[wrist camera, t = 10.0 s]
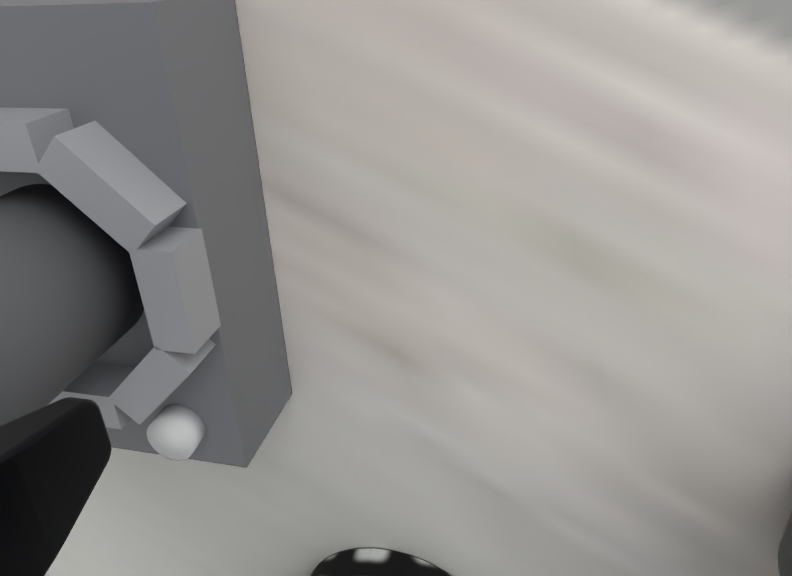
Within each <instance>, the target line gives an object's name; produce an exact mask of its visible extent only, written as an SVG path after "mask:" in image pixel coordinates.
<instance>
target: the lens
mask: <svg viewBox="0 0 792 576" xmlns="http://www.w3.org/2000/svg"><path fill="white" fill-rule="evenodd" d="M143 311H144V306H143V303H142V299H141V295H140V291H139V287H138V284H137V280H136V276H135V272H134V268H133V264H132V261H131V257H130V253H129V252H128V251H127V250H126V249H125V248H124V247H122V246H121V245H120V244H119V243H118V242H117V241H115V240H114V239H113V238H112V237H111V236H110V235H109V234H107V233H106V232H105V231H104V230H103V229H102V228H101V227H99V226H98V225H97V224H96V223H95V222H94V221H92V220H91V219H90V218H89V217H88V216H87V215H86V214H84V213H83V212H82V211H81V210H80V209H79V208H78V207H76V206H75V205H74V204H73V203H72V202H71V201H70V200H68V199H67V198H66V197H65V196H64V195H63V194H61V193H60V192H59V191H58V190H57V189H56V188H55V187H53V186H52V185H48V184H31V185H27V186H22V187H20V188H17V189H15V190H13V191H11V192H8V193H6V194H4V195H2V196H0V426H1V425H4V424H6V423H8V422H10V421H13V420H15V419H17V418H20V417H22V416H24V415H26V414H29V413H31V412H33V411H35V410H38V409H40V408H42V407H44V406H47V405H48V404H49V403H50V402H51V401H52V400H53V399H54V398H56V397H57V396H58V395H59V394H60V393H61V392H62V391H63V390H64V389H65V388H66V387H68V386H69V385H70V384H71V383H72V382H73V381H74V380H75V379H76V378H77V377H78V376H80V375H81V374H82V373H83V372H84V371H85V370H86V369H87V368H88V367H89V366H90V365H92V364H93V363H94V362H95V361H96V360H97V359H98V358H99V357H100V356H101V355H103V354H104V353H105V352H106V351H107V350H108V349H109V348H110V347H111V346H112V345H113V344H115V343H116V342H117V341H118V340H119V339H120V338H121V337H122V336H123V335H124V334H125V333H127V332H128V331H129V330H130V329H131V328H132V327H133V326H134V325H135V324H136V323H137V322H138V320H139V319H140V317H141V316H142V314H143Z"/></svg>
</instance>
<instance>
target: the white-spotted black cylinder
mask: <svg viewBox="0 0 792 576" xmlns="http://www.w3.org/2000/svg"><path fill="white" fill-rule="evenodd" d="M311 576H450V575H448V574H447V573H446V572H444V571H443V570H441V569H439V568H437V567H435V566H434V565H432V564H430V563H428V562H426V561H423V560H421V559H418V558H416V557H413V556H410V555H407V554H403V553H399V552H395V551H391V550H382V549H374V548H370V549H353V550H348V551H343V552H339V553H337V554H335V555H332V556H330V557H328V558H327V559H325V560H324V561H323V562H321V563H320V564H319V565H318V566H317V567H316V569H315V570H314V571H313V573H312V574H311Z"/></svg>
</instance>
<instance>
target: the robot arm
mask: <svg viewBox="0 0 792 576" xmlns="http://www.w3.org/2000/svg"><path fill="white" fill-rule="evenodd" d="M110 455H111V441H110V438H109V435H108V432H107V429H106V426H105V423H104V420H103V417H102V413H101V410H100V408H99V406H98V405H97V404H96V402H95V401H92V400H89V399H82V398H74V397H67V398H63V399H60V400H58V401H56V402H54V403H51V404H49V405H47V406H44V407H42V408H40V409H38V410H35V411H33V412H31V413H29V414H26V415H24V416H22V417H20V418H17V419H15V420H13V421H10V422H8V423H6V424H4V425H1V426H0V576H44V575H45V574H46V572H47V571H48V569H49V567H50V566H51V564H52V563H53V561H54V560H55V558H56V556H57V555H58V553H59V551H60V549H61V548H62V546H63V544H64V542H65V541H66V539H67V537H68V535H69V533H70V531H71V529H72V528H73V526H74V524H75V522H76V520H77V518H78V517H79V515H80V513H81V511H82V509H83V507H84V505H85V504H86V502H87V500H88V498H89V496H90V494H91V492H92V491H93V489H94V487H95V485H96V483H97V481H98V480H99V478H100V476H101V474H102V472H103V470H104V468H105V467H106V465H107V463H108V461H109V458H110ZM778 566H779V573H780V576H792V511H791V513H790V516H789V519H788V522H787V525H786V527H785V530H784V533H783V536H782V539H781V541H780V545H779V550H778Z"/></svg>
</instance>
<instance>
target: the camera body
mask: <svg viewBox="0 0 792 576" xmlns="http://www.w3.org/2000/svg"><path fill="white" fill-rule="evenodd" d="M31 184H48V185H52V186H53V187H55V188H56V189H57V190H58V191H59V192H60V193H61V194H63V195H64V196H65V197H66V198H67V199H68V200H70V201H71V202H72V203H73V204H74V205H75V206H76V207H78V208H79V209H80V210H81V211H82V212H83V213H84V214H86V215H87V216H88V217H89V218H90V219H91V220H92V221H94V222H95V223H96V224H97V225H98V226H99V227H101V228H102V229H103V230H104V231H105V232H106V233H107V234H109V235H110V236H111V237H112V238H113V239H114V240H115V241H117V242H118V243H119V244H120V245H121V246H122V247H124V248H125V249H126V250H127V251H128V252H129V253H130V257H131V261H132V264H133V268H134V272H135V276H136V280H137V284H138V287H139V291H140V295H141V299H142V303H143V306H144V311H143V314H142V316H141V317H140V319H139V320H138V322H137V323H136V324H135V325H134V326H133V327H132V328H131V329H130V330H129V331H128V332H127V333H125V334H124V335H123V336H122V337H121V338H120V339H119V340H118V341H117V342H116V343H115V344H113V345H112V346H111V347H110V348H109V349H108V350H107V351H106V352H105V353H104V354H103V355H101V356H100V357H99V358H98V359H97V360H96V361H95V362H94V363H93V364H92V365H90V366H89V367H88V368H87V369H86V370H85V371H84V372H83V373H82V374H81V375H80V376H78V377H77V378H76V379H75V380H74V381H73V382H72V383H71V384H70V385H69V386H68V387H66V388H65V389H64V390H63V391H62V392H61V393H60V394H59V395H58V396H57V397H56V398H54V399H53V400H52V401H51V402H50V403H49V404H51V403H54V402H56V401H58V400H60V399H63V398H67V397H74V398H82V399H89V400H92V401H95V402H96V404H97V405H98V406H99V408H100V410H101V413H102V417H103V420H104V423H105V426H106V429H107V432H108V435H109V438H110V441H111V447H114V448H121V449H128V450H134V451H141V452H147V453H154V454H160V455H162V456H164V457H166V458H168V459H172V460H178V461H180V460H185V459H193V460H200V461H206V462H213V463H220V464H226V465H233V466H239V467H246V468H247V466H248V465H249V463H250V461H251V460H252V458H253V456H254V455H255V453H256V451H257V450H258V448H259V447H260V445H261V443H262V442H263V440H264V438H265V437H266V435H267V433H268V432H269V430H270V429H271V427H272V425H273V424H274V422H275V420H276V419H277V417H278V415H279V414H280V412H281V411H282V409H283V407H284V406H285V404H286V402H287V401H288V399H289V398H290V396H291V394H292V390H291V383H290V376H289V369H288V363H287V356H286V349H285V342H284V335H283V328H282V322H281V315H280V308H279V301H278V294H277V287H276V280H275V274H274V267H273V260H272V253H271V246H270V239H269V233H268V226H267V219H266V212H265V205H264V198H263V191H262V185H261V178H260V171H259V164H258V157H257V150H256V144H255V137H254V130H253V123H252V116H251V109H250V102H249V96H248V89H247V82H246V75H245V68H244V61H243V55H242V48H241V41H240V34H239V27H238V20H237V13H236V7H235V0H0V196H2V195H4V194H6V193H8V192H11V191H13V190H15V189H17V188H20V187H22V186H27V185H31ZM49 404H48V405H49Z"/></svg>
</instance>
